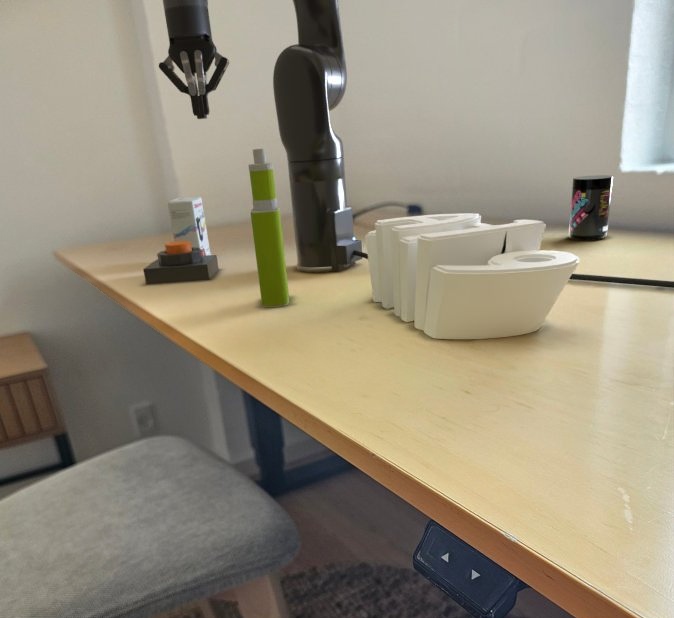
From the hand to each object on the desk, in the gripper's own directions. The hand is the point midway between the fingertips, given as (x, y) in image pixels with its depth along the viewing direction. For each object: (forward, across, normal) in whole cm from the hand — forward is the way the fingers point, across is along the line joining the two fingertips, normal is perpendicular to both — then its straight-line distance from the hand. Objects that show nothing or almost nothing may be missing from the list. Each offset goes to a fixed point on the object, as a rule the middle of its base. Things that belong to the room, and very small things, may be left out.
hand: (202, 118), depth 121 cm
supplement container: (+25, +70, -9) cm, 75 cm away
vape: (+25, +15, -42) cm, 51 cm away
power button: (+21, -4, -19) cm, 28 cm away
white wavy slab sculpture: (+25, +39, -52) cm, 70 cm away
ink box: (+25, -5, -4) cm, 26 cm away
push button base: (+25, -4, -19) cm, 31 cm away
